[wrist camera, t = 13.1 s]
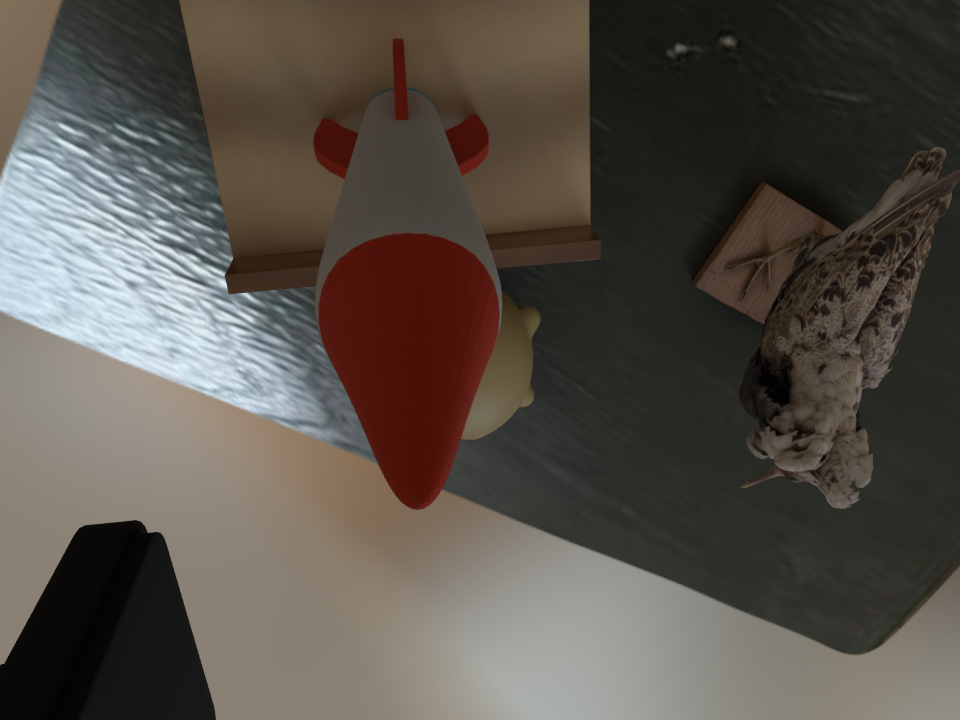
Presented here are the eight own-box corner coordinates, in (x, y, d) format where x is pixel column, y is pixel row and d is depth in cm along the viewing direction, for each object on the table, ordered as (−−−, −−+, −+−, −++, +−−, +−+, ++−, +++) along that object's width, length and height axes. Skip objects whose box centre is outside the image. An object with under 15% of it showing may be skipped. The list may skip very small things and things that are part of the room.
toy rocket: (317, 121, 39) (127, 521, 12) (398, 30, 37) (388, 252, 10) (405, 202, 41) (411, 696, 14) (485, 118, 39) (663, 493, 12)
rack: (216, -36, 44) (157, -30, 33) (550, -61, 45) (601, -63, 34) (264, 218, 50) (228, 294, 39) (556, 192, 51) (601, 259, 40)
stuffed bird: (654, 384, 58) (747, 541, 43) (746, 94, 50) (903, 160, 34) (784, 401, 60) (919, 557, 45) (894, 123, 51) (1107, 198, 36)
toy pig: (436, 236, 56) (306, 265, 48) (579, 283, 49) (453, 326, 41) (430, 369, 60) (309, 414, 52) (562, 430, 53) (443, 493, 45)
